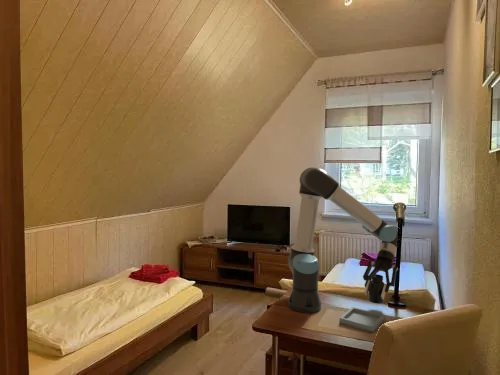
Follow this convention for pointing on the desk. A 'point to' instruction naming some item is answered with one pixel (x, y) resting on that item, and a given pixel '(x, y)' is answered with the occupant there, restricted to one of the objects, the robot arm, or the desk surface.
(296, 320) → the desk surface
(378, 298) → the supplement bottle
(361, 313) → the tray
